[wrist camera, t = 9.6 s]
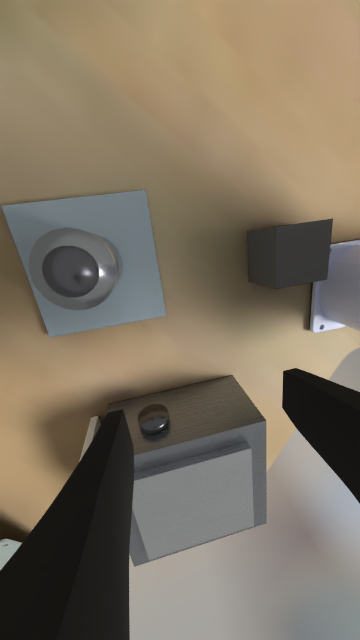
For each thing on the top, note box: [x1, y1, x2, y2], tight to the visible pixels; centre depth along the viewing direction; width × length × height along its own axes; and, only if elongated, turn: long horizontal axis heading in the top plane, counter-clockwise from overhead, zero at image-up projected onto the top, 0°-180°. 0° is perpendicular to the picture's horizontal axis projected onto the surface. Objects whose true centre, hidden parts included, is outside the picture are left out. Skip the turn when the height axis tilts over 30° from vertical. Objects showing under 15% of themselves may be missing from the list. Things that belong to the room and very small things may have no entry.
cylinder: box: [29, 228, 123, 310], centre depth 13 cm, size 4×4×6 cm
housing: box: [107, 375, 266, 566], centre depth 19 cm, size 12×13×7 cm
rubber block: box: [247, 219, 333, 289], centre depth 16 cm, size 4×4×4 cm
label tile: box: [79, 416, 101, 462], centre depth 19 cm, size 1×6×5 cm, turn 8°
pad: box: [1, 190, 166, 337], centre depth 16 cm, size 9×9×1 cm
